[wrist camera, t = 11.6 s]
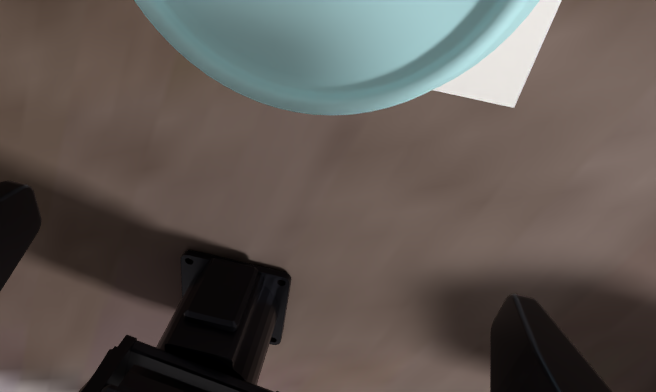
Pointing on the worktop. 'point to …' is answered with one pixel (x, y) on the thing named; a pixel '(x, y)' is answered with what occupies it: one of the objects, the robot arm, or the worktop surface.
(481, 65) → the dock
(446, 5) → the can
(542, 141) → the worktop surface
